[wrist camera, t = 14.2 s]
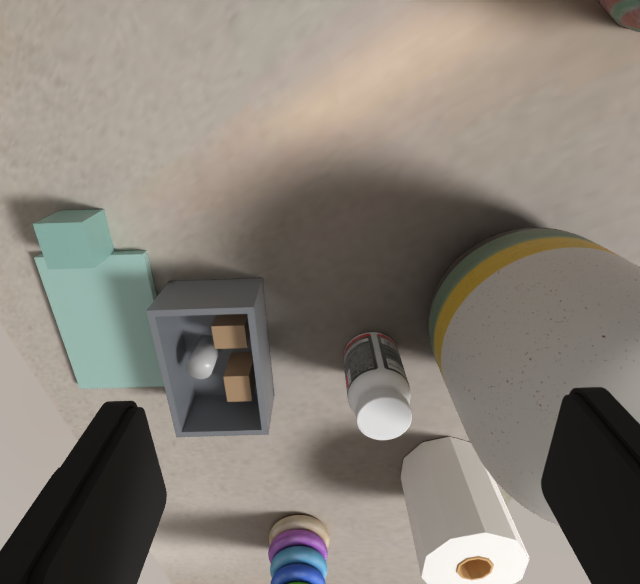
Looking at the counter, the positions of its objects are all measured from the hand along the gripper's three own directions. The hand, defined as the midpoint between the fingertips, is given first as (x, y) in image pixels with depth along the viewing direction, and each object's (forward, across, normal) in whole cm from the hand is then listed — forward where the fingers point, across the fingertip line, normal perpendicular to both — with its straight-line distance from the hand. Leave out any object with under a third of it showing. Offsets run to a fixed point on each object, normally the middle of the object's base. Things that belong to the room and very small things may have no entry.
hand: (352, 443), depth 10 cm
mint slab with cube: (+30, +22, +11) cm, 39 cm away
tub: (+30, +11, +16) cm, 36 cm away
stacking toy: (+31, +5, +46) cm, 55 cm away
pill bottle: (+31, -4, +18) cm, 36 cm away
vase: (+31, -17, +12) cm, 37 cm away
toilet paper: (+31, -13, +35) cm, 48 cm away
